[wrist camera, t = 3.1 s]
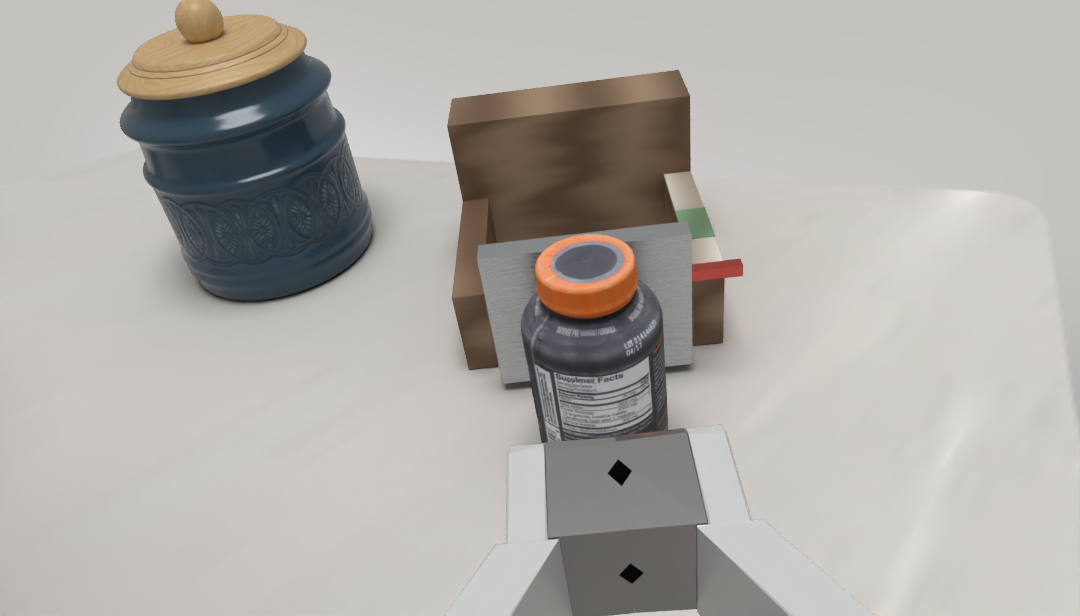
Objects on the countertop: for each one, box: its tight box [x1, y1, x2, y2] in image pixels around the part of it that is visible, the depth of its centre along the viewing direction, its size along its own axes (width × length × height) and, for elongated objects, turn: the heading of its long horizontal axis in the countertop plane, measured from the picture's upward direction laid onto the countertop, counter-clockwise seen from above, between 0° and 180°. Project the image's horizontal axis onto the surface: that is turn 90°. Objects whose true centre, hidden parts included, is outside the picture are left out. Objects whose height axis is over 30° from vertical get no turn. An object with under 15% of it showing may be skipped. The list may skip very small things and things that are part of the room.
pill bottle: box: [521, 234, 668, 443], centre depth 34 cm, size 6×6×11 cm
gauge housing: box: [447, 70, 724, 369], centre depth 46 cm, size 14×14×10 cm
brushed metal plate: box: [477, 221, 743, 384], centre depth 39 cm, size 12×1×8 cm, turn 91°
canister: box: [117, 0, 372, 300], centre depth 51 cm, size 13×13×18 cm
